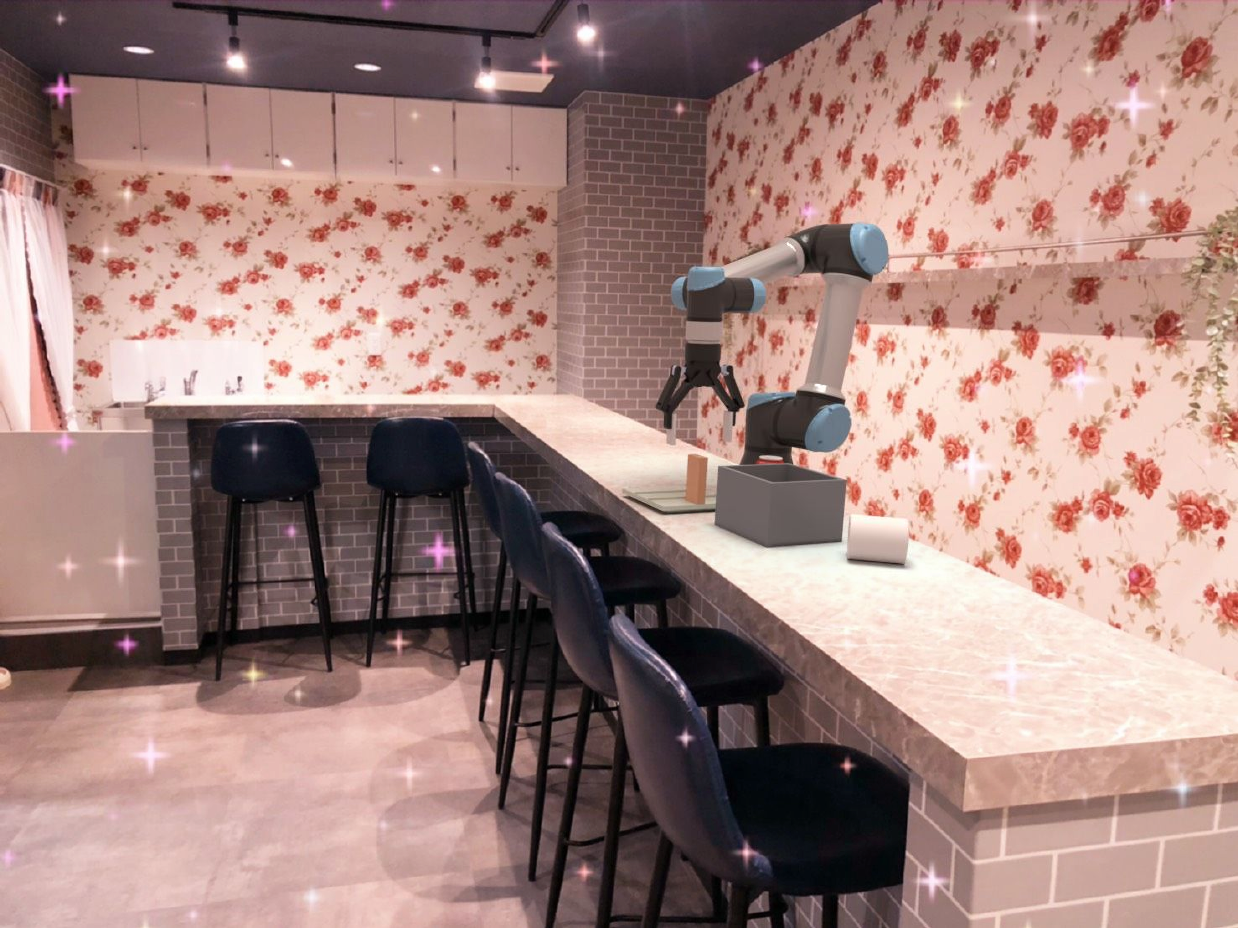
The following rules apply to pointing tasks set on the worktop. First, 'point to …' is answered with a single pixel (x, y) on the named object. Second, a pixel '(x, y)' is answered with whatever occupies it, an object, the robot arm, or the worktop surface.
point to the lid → (680, 491)
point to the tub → (780, 504)
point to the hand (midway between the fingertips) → (699, 443)
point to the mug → (877, 539)
